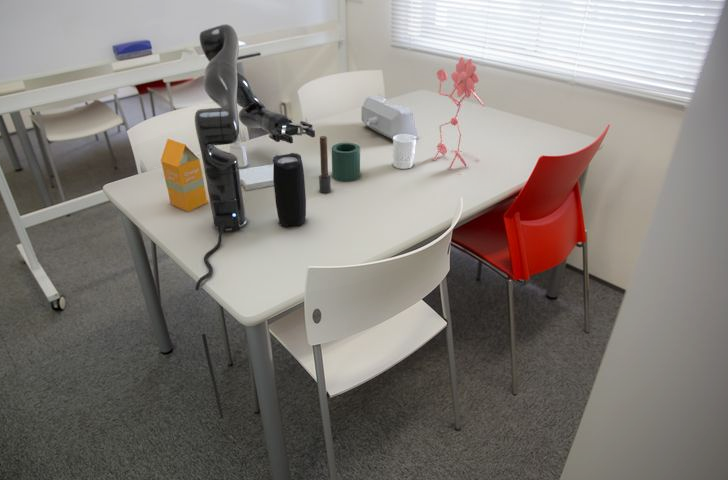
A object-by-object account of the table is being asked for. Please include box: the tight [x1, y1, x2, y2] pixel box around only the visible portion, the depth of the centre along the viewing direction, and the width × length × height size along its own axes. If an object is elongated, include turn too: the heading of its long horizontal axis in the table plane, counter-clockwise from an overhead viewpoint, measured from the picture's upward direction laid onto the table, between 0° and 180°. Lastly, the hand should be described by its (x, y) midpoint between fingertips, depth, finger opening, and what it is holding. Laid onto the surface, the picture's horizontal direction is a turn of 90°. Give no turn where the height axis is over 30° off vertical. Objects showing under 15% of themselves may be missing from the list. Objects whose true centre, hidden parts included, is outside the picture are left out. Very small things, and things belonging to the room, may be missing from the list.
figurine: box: [433, 56, 486, 176], centre depth 173 cm, size 15×26×35 cm, turn 26°
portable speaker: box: [272, 152, 307, 228], centre depth 142 cm, size 9×9×20 cm
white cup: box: [392, 134, 417, 170], centre depth 177 cm, size 8×8×10 cm
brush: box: [318, 135, 332, 194], centre depth 159 cm, size 4×4×18 cm
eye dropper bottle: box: [229, 136, 248, 169], centre depth 180 cm, size 4×6×12 cm
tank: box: [360, 94, 419, 141], centre depth 204 cm, size 25×16×12 cm, turn 29°
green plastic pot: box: [331, 142, 361, 182], centre depth 171 cm, size 9×9×10 cm
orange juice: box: [160, 138, 208, 212], centre depth 153 cm, size 8×9×20 cm
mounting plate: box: [239, 163, 274, 191], centre depth 172 cm, size 18×13×2 cm
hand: (303, 137), depth 164 cm, fingers open, 8 cm apart
